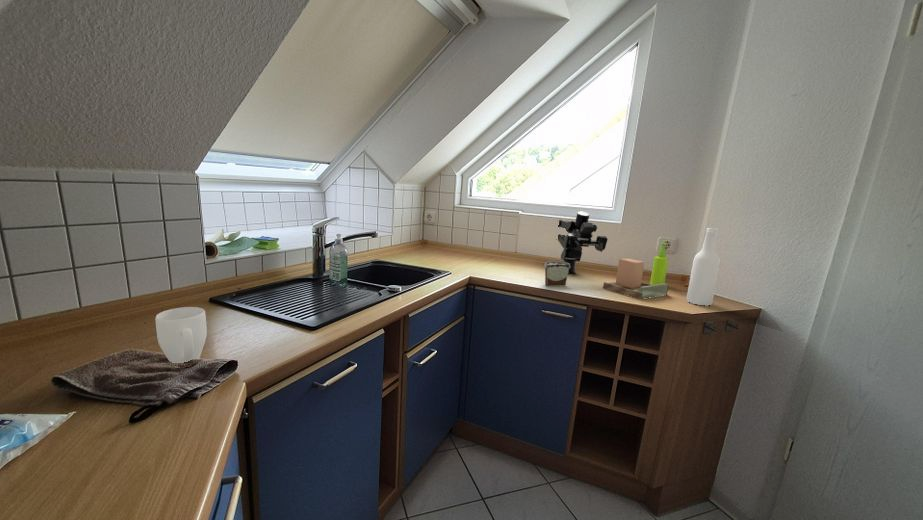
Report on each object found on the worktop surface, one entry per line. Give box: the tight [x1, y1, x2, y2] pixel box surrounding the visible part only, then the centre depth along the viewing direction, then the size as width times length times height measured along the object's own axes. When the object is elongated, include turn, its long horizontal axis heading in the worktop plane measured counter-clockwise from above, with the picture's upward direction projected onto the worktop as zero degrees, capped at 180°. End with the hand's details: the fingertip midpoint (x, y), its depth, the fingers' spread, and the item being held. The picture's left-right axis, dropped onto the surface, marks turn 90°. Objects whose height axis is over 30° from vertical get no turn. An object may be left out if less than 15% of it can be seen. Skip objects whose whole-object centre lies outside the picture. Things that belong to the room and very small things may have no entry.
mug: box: [154, 306, 208, 363], centre depth 77 cm, size 12×8×11 cm
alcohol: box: [686, 227, 721, 306], centre depth 146 cm, size 9×9×30 cm
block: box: [615, 257, 645, 288], centre depth 163 cm, size 8×6×11 cm
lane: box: [602, 281, 669, 300], centre depth 161 cm, size 18×19×5 cm
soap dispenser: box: [649, 242, 669, 285], centre depth 174 cm, size 6×7×20 cm
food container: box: [543, 260, 570, 287], centre depth 165 cm, size 12×6×10 cm, turn 108°
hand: (591, 250), depth 165 cm, fingers open, 9 cm apart
